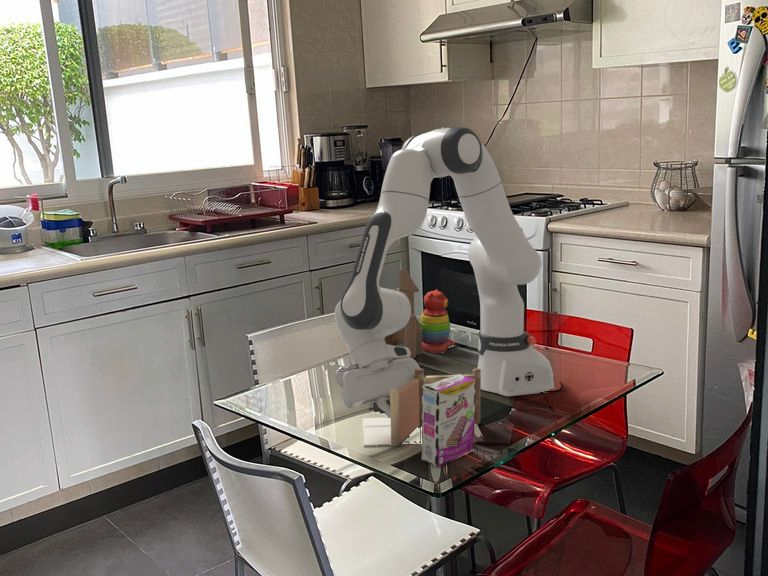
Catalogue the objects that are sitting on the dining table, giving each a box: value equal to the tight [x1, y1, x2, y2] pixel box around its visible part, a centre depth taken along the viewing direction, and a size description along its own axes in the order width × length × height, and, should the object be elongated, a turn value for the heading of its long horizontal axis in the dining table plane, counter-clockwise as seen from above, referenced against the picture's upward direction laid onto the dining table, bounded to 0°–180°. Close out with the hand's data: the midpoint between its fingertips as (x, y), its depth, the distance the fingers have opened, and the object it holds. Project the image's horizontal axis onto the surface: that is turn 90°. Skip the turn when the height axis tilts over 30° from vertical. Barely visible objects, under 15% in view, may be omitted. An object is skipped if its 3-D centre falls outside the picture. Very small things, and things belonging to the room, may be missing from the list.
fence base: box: [415, 367, 482, 426], centre depth 174 cm, size 15×2×14 cm, turn 93°
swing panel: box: [389, 379, 419, 447], centre depth 167 cm, size 12×2×12 cm, turn 154°
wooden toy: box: [384, 268, 423, 359], centre depth 229 cm, size 16×7×25 cm, turn 42°
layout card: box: [361, 416, 483, 448], centre depth 172 cm, size 26×16×1 cm, turn 93°
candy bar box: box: [421, 373, 476, 468], centre depth 157 cm, size 11×5×16 cm, turn 131°
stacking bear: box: [419, 289, 457, 354], centre depth 233 cm, size 11×10×18 cm
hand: (396, 415), depth 168 cm, fingers closed
